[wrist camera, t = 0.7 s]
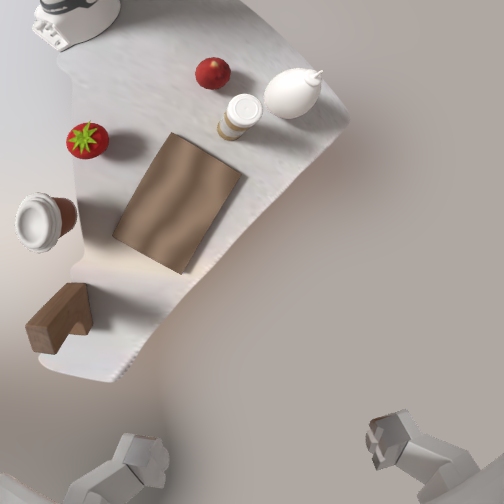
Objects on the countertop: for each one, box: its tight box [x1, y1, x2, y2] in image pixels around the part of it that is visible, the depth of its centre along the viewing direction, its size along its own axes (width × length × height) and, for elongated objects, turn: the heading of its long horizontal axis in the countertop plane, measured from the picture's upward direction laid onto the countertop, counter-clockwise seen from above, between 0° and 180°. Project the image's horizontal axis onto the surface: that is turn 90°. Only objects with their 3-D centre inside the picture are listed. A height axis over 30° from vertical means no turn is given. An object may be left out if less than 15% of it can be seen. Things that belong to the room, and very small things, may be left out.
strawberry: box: [66, 120, 109, 159], centre depth 34 cm, size 6×8×10 cm
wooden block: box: [25, 283, 93, 355], centre depth 36 cm, size 9×4×18 cm, turn 177°
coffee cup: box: [15, 192, 77, 253], centre depth 34 cm, size 9×9×12 cm
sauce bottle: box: [264, 68, 323, 119], centre depth 36 cm, size 8×8×18 cm
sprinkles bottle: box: [217, 94, 263, 141], centre depth 37 cm, size 5×5×13 cm
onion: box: [195, 57, 231, 90], centre depth 37 cm, size 6×6×8 cm
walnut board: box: [112, 132, 241, 275], centre depth 44 cm, size 14×20×2 cm
